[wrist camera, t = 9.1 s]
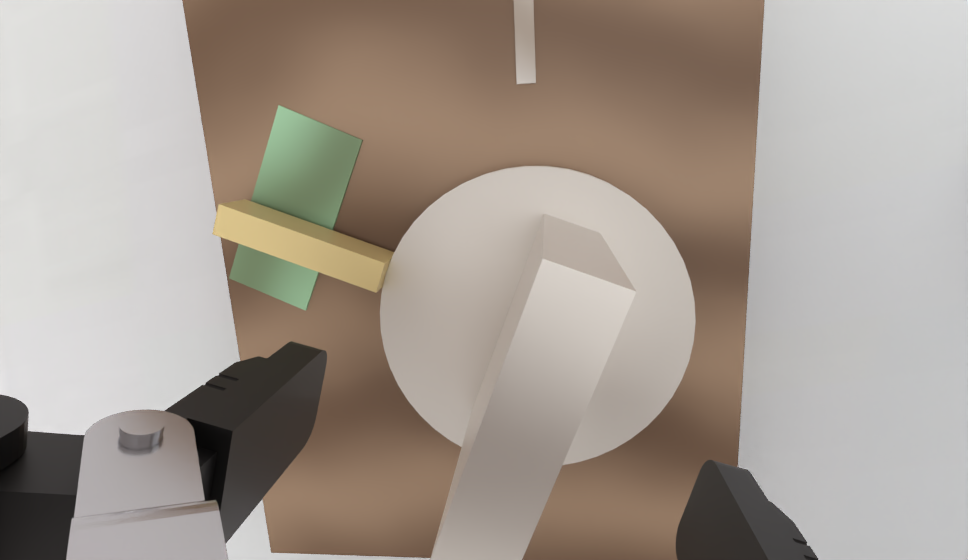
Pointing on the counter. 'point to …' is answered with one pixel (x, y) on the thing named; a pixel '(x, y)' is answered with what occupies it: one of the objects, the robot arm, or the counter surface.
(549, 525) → the dial board
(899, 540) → the counter surface
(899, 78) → the counter surface
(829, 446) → the counter surface
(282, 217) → the dial knob
